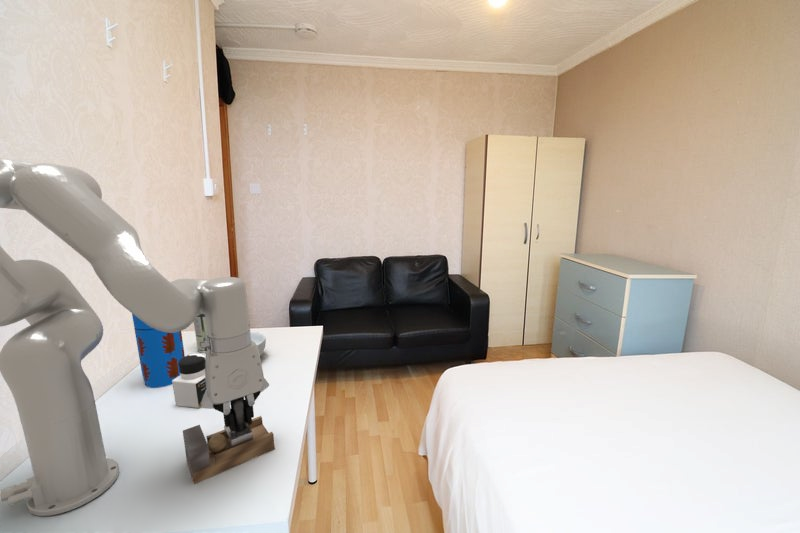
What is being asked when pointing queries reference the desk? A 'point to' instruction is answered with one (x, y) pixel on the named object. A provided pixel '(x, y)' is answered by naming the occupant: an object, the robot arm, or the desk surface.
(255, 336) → the cereal bowl
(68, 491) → the robot arm
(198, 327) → the coffee can
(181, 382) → the medicine bottle
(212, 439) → the nut
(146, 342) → the thermos
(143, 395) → the desk surface
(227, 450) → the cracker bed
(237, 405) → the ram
